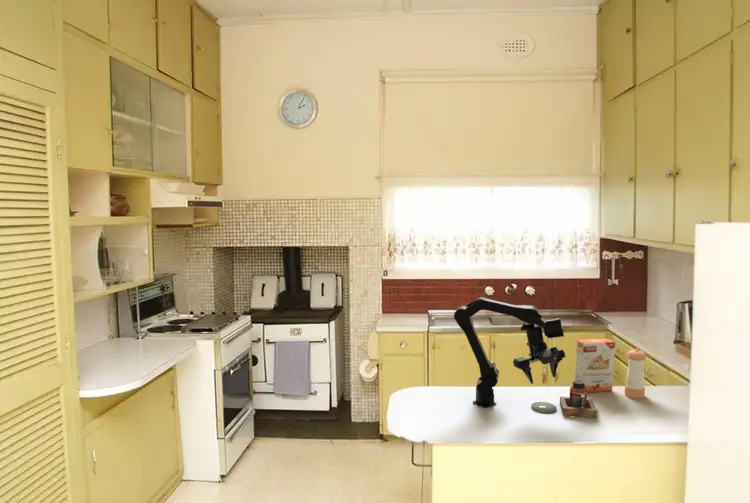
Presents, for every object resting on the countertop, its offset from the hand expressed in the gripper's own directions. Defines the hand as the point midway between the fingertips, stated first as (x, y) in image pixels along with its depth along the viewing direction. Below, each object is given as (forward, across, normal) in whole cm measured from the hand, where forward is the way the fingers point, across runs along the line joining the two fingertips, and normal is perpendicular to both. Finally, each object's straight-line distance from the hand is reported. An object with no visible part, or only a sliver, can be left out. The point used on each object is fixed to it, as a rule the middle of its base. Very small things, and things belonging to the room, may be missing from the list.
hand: (543, 380), depth 209 cm
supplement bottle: (+14, +10, -3) cm, 17 cm away
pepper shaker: (+18, +40, +6) cm, 45 cm away
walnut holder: (+14, +10, -3) cm, 17 cm away
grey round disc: (+11, -1, +2) cm, 11 cm away
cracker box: (+15, +28, +15) cm, 35 cm away
